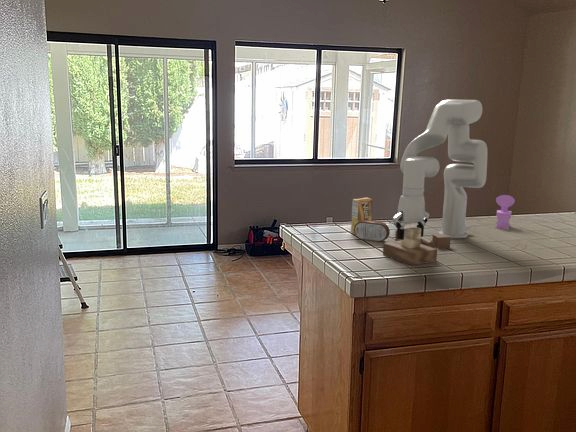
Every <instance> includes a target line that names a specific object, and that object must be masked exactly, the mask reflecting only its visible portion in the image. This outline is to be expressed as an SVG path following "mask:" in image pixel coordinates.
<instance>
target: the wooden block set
mask: <svg viewBox="0 0 576 432" xmlns="http://www.w3.org/2000/svg"><path fill="white" fill-rule="evenodd" d="M394 232H395V234H394V236H395V237H394V238H395V240H396V241H400V240H401V239H398V238H397V229H396V230H395V231H394ZM451 239H452V238H451V237H449V236H446V235H443V234H439V233H438V232H437V233H434V234H432V239H431V240H430V239H429V238H427V237H425V236H423V237H421V241H420V244H423V245H426V246H429V247H432V248H436V249H445V248H446V249H447V248H451Z"/></svg>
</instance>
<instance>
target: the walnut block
mask: <svg viewBox="0 0 576 432" xmlns="http://www.w3.org/2000/svg"><path fill="white" fill-rule="evenodd" d="M382 245H383V247H382V248H383V249H382V255H383V256H386V257H388V256H389V257H388V258H391V257H392V259H394V260H396V259H397V261H399V262H402V263H404V262H405V264H408V265H410V266H416V265H415V264H417V265H421V263H423V264H427V263H426V262H428V263H433V262H437V257H438V248H436V247H434V248H432V247H429V246H426V245H423V244H420V247H416V248H407V247H404V246H401V240H400V241H398V240H395V241H387V242H383V244H382ZM432 261H433V262H432Z"/></svg>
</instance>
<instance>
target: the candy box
mask: <svg viewBox="0 0 576 432" xmlns="http://www.w3.org/2000/svg"><path fill="white" fill-rule="evenodd" d="M372 212H373V198H370V197H360V198H353V199H352V205H351V223H350V224H351V225H350V227H351V228H350V233H351V234H354V235H355V233H354V226H355V225H356V224H357V222H359V221H360V220H370V221H372Z"/></svg>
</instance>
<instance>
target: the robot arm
mask: <svg viewBox="0 0 576 432" xmlns="http://www.w3.org/2000/svg"><path fill="white" fill-rule="evenodd" d="M482 114H483V105H482V103H481V101H480V100H477V99H452V98H451V99H444V100H441V101H440V102H439V103H438V104H436V105H435V107H434V108H433V111H432V113H431V116H430V118H429V120H428V123H427V126H426V128H425V130H424V132H423V133H421V134H420V135H418V136H416V137H415V138H414V139H413V140H412V141H411V142H409V144H408V145H407V146H406V147H405V150H404V152H403V155H402V157H401V159H400V164H399V165H400V166H399V167H400V171H401V173H402V174H403V177H402V179H403V181H402V195H400V197H399V201H398V204H397V210H396V211H397V213H396V214H395V215H394V216H393V217H392V222H393V225H394V226H395V228H396V230H397V238H398V239H401V240H404V229H403V228H404V227H406V225H409V224H415V223H417V224H416V227H418V228H421V237H424V233H425V232H424V229H425V226H426V224H427V222H428V220H429V217H430V213H429V212H427V211H426V201H425V195H424V192H425V178H434V177H435V176H437V174H438V173H439V171H440V169H441V168H440V161H439V160H438V159H437V158H435V157H432V156H423V155H421V156H420V155H418V154H419V153H421V152H422V151H425V150H428V149H431V148H434V147H437V146H439V145H442V144H443V143H445V141H446V140H447V142H448V143H447V155H448V158H449V160H451V161H453V162H454V161H455V162H460V163H451V164H447V165H446V166H445V168H444V170H443V180H444V181H443V182H444V196H443V207H442V209H443V210H442V223H441V229H440V230H438V231H437V233H439V234H443V235H446V236H449V237H451V239H465V238H468V235H469V234H468V232H467V231H470V230H471V229H472V225H466V216H467V203H468V194H467V192H466V191H465V188H472V189H473V188H474V189H480V188H483V187H484V186H485V184H486V182H487V175H488V173H487V171H488V146H487V143H486V142H485V141H484V140H481V139H471V138H470V124H473V123H476V122H477V121H479V120H480V119H481V117H482ZM447 137H448V138H447ZM461 162H463V163H461ZM464 163H465V164H464ZM467 163H472V164H467Z"/></svg>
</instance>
